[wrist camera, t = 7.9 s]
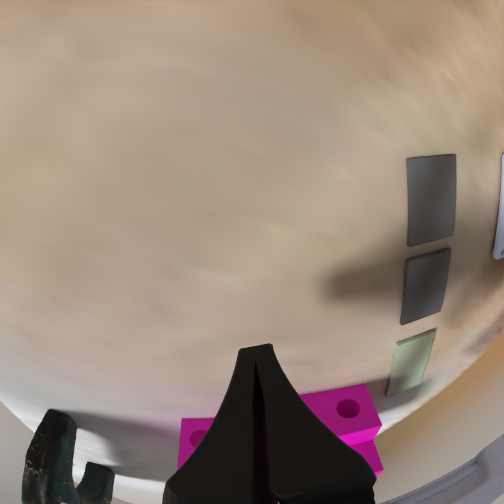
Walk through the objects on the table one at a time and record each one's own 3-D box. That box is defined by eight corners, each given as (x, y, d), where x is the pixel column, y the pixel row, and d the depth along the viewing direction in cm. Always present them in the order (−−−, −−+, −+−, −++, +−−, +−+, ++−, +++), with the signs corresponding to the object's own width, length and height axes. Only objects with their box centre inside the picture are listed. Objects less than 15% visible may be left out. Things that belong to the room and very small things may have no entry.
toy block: (363, 381, 20) (395, 457, 14) (348, 420, 23) (369, 484, 16) (175, 400, 20) (166, 485, 13) (190, 436, 22) (187, 505, 16)
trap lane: (452, 153, 13) (475, 160, 11) (400, 426, 25) (406, 439, 24) (76, 230, 13) (58, 246, 11) (222, 467, 26) (222, 481, 24)
